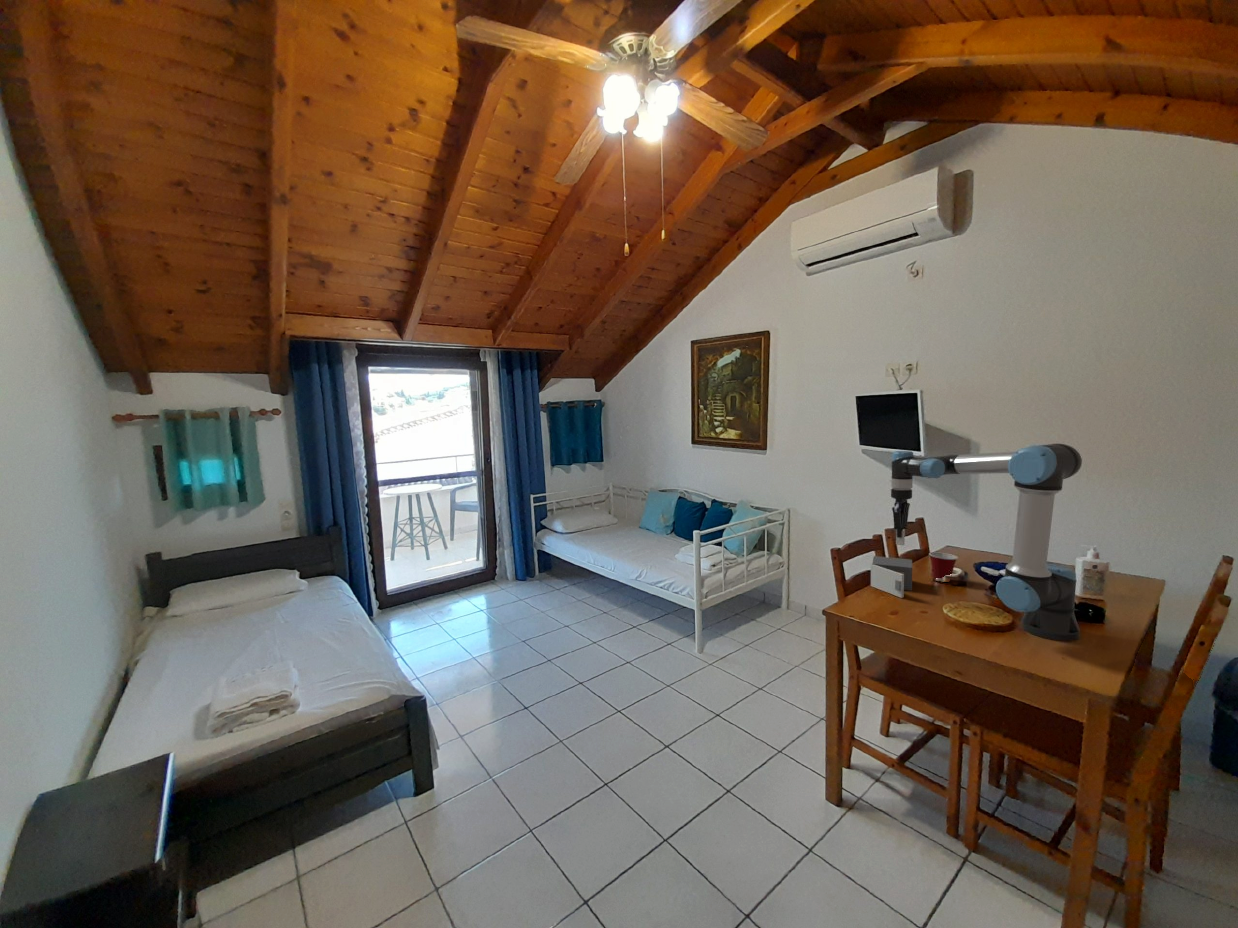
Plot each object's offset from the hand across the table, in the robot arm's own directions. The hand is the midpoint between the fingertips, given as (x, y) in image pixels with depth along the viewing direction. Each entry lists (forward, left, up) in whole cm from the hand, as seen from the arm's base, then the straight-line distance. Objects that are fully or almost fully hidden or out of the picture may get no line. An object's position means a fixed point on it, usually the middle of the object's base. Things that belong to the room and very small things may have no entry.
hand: (900, 544), depth 206 cm
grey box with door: (+10, +3, -21) cm, 23 cm away
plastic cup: (+22, -17, -21) cm, 35 cm away
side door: (-1, +5, -21) cm, 21 cm away
